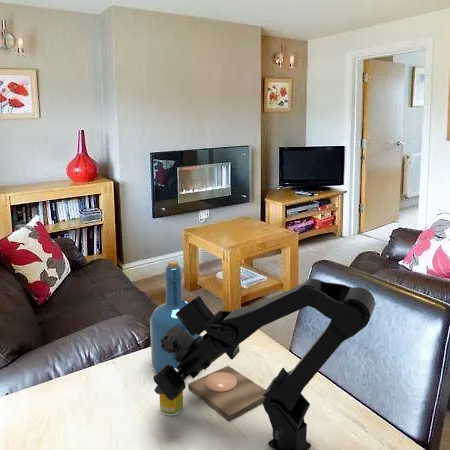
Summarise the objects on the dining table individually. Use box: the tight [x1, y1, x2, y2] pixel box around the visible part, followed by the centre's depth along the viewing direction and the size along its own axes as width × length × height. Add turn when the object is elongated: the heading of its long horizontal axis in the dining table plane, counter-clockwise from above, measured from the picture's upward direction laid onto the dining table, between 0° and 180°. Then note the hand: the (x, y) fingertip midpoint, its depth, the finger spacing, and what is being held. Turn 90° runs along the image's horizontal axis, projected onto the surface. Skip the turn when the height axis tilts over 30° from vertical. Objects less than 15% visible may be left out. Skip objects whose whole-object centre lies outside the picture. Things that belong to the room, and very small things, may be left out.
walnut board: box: [187, 365, 266, 422], centre depth 113 cm, size 16×13×2 cm
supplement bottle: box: [158, 368, 184, 417], centre depth 106 cm, size 5×5×10 cm
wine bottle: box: [149, 260, 201, 376], centre depth 122 cm, size 14×13×30 cm
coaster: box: [205, 372, 237, 392], centre depth 115 cm, size 8×8×1 cm
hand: (165, 382), depth 107 cm, fingers open, 8 cm apart
